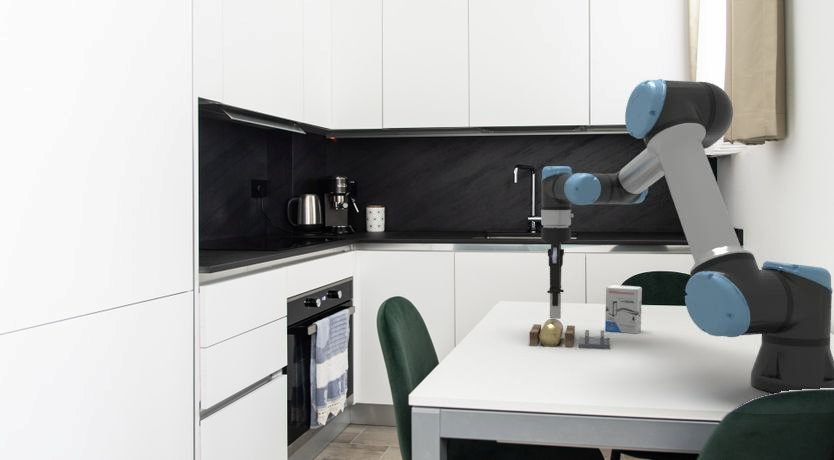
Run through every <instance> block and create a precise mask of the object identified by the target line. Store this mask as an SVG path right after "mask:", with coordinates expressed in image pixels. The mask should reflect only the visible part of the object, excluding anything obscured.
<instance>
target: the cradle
mask: <svg viewBox="0 0 834 460" xmlns="http://www.w3.org/2000/svg"><path fill="white" fill-rule="evenodd" d="M610 341H611V340H610V337H605V330H600V336H599V337H590V330H589V329H585V333H584V336H583V337H582V336H580V337H579V341H578V348H579V349H597V350H599V349H600V350H610V348H611V347H610V345H611V343H610Z"/></svg>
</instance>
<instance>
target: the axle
mask: <svg viewBox="0 0 834 460" xmlns="http://www.w3.org/2000/svg"><path fill="white" fill-rule="evenodd" d="M542 325H543V326H541V332H540V335H539V338H540V341H539V342H540V343H541V344H542V345H543V346H545V347H550V348H551V347H556V346H557V345H559V343H560V342H561V339H562V336H563V333H564V325H563V323H562V322H561V321H560V320H559V319H555V318H549V319H548V320H546V321H545V322H544V323H543V324H542Z"/></svg>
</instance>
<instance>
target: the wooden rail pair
mask: <svg viewBox="0 0 834 460" xmlns="http://www.w3.org/2000/svg"><path fill="white" fill-rule="evenodd" d="M575 329H576V326H575V325H566V329H565V332H564V348H573V347H574V343H575V339H576V336H575V335H576V334H575V333H576V330H575ZM541 330H542V324H533V326H532V327H531V329H530V331H529V346H530V347H531V346H532V347H533V346H534V347H537V346H538V345H539V343H540V342H541V341H540V338H539V335H540V332H541Z"/></svg>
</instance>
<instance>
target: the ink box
mask: <svg viewBox="0 0 834 460" xmlns="http://www.w3.org/2000/svg"><path fill="white" fill-rule="evenodd" d="M605 290H606V291H605V318H604V319H605V326H604V332H613V333H614V332H615V333H627V334H635V335H637V334H638V333H640V332H641V331H642V299H643V298H642V297H643V296H642V295H643V294H642V293H643V292H642V291H643V288H642V287H641V286H633V285H619V284H618V285H617V284H612V285H609V286H606V288H605Z"/></svg>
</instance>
